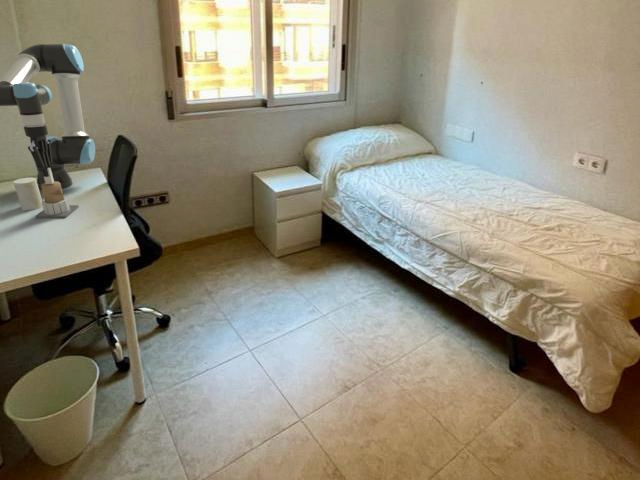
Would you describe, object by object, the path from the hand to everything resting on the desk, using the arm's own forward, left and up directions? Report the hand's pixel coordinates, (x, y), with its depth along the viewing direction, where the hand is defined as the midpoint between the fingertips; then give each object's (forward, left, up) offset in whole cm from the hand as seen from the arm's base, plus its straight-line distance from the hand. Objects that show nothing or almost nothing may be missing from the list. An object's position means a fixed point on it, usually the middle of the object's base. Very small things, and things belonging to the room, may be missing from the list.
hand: (50, 183), depth 179 cm
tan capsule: (0, 0, -11) cm, 11 cm away
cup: (-7, -14, -13) cm, 20 cm away
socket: (0, 0, -13) cm, 13 cm away
